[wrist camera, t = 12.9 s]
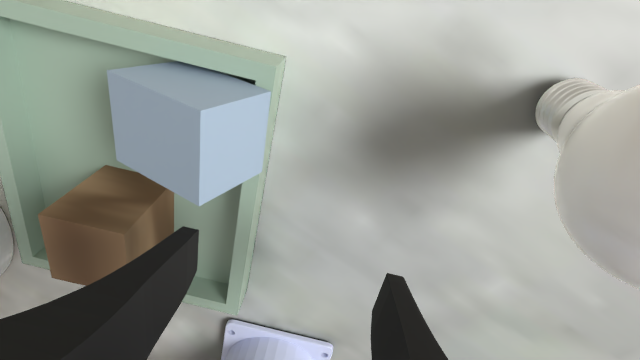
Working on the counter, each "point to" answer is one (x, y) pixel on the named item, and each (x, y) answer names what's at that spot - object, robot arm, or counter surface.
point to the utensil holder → (5, 243)
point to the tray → (97, 128)
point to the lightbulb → (597, 171)
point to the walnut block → (105, 224)
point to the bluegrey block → (188, 127)
